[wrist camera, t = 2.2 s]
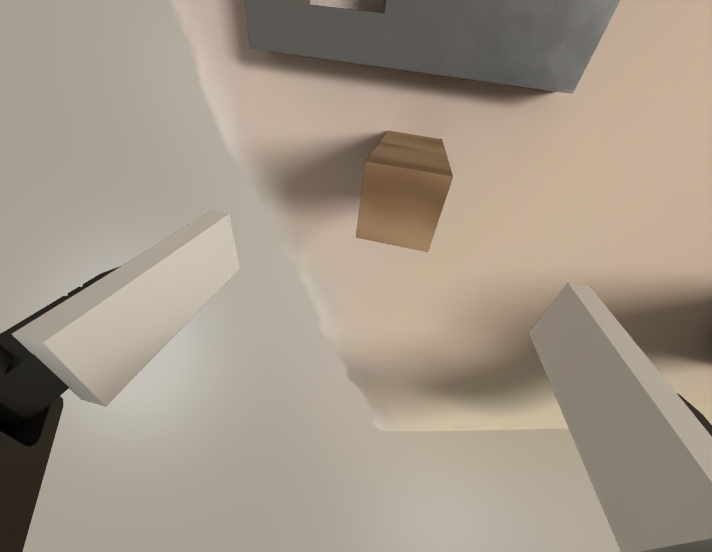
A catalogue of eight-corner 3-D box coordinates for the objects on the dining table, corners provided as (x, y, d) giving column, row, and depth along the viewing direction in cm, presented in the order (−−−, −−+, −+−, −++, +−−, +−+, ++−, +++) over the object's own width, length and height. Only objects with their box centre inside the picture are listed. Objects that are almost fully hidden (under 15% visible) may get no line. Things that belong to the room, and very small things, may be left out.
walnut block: (426, 192, 27) (427, 252, 18) (379, 184, 28) (355, 237, 18) (441, 139, 24) (452, 176, 15) (388, 130, 25) (365, 161, 15)
